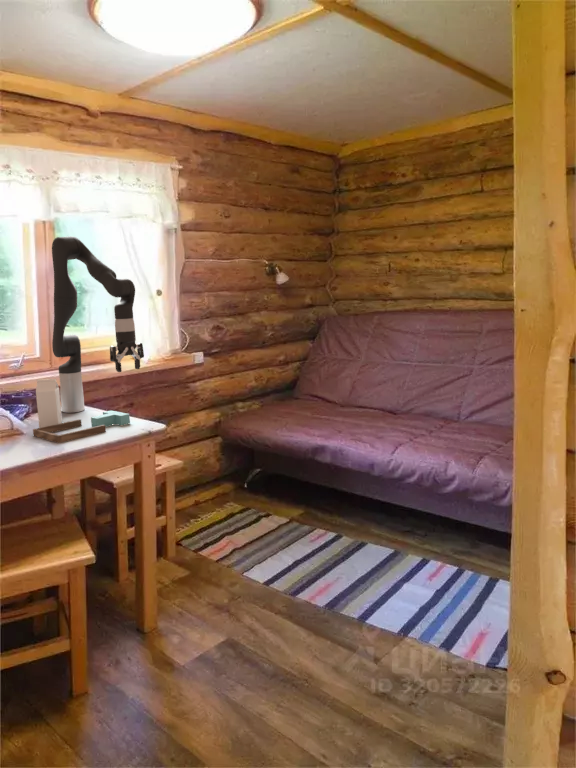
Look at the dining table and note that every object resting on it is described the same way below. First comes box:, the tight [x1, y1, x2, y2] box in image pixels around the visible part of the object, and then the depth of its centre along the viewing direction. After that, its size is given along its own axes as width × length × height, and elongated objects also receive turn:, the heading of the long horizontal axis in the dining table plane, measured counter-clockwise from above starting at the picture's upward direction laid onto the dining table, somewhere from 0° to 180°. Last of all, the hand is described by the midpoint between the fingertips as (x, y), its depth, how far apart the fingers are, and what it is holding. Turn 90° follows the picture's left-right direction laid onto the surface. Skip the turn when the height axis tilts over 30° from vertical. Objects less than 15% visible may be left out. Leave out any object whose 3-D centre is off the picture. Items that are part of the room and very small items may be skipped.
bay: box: [32, 418, 107, 444], centre depth 224 cm, size 17×19×2 cm
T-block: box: [90, 410, 131, 428], centre depth 237 cm, size 12×12×4 cm
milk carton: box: [35, 378, 63, 428], centre depth 234 cm, size 7×7×19 cm
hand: (128, 370), depth 241 cm, fingers open, 8 cm apart
